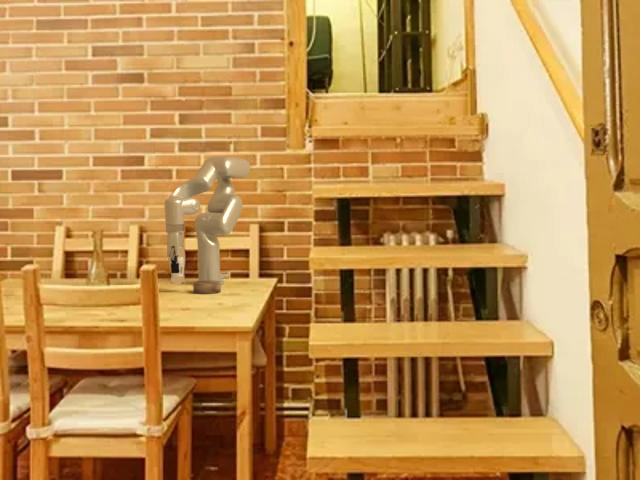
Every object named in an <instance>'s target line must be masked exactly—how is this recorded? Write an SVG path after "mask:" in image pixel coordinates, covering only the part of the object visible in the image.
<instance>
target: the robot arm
mask: <svg viewBox="0 0 640 480" xmlns="http://www.w3.org/2000/svg"><path fill="white" fill-rule="evenodd" d="M250 172H251V165H250V163H249V161H248V160H246V159H245V158H240V157H239V158H238V157H231V156H212V157H211V156H210V157H208V158H207V159H206V160H205V161H204V163H203V164H202V165H201V166H200V168H199V169H198V171H197V172H196V173H195V174H194V176H193V177H192V178H189V179H188V180H187V181H185V182H183V183H182V184H180V185H179V186H177V187H176V188H175V189H174V190H173V191H172V193H171V194H170V196H169V197H168V198H166V199H165V200H164V219H165V233H166V234H167V235H166V237H167V238H166V240H167V241H166V254H167V258H168V257H171V270H170V274H171V273H179V263H178V257H179V256H180V247H183V246H184V234H183V233H185V232H186V229H185V228H186V227H185V215H186V216H189V215H190V216H191V215H195V214H197V213H198V212H199V211H200V208H201V203H200V200H198V198H197V197H195V196H198V195H201V194H203V193H207V192H208V191H210V190H211V188H212V187H213V185H214V183H215V182H216V183H217V184H216V185H217V186H216V187H215V189H214V191H213V193H212V194H211V197H210V199H209V201H208V203H207V205H206V206H207V207H206V208H207V211H208V212H202V213H201V212H200V213H199V214H198V215H197V216H196V217H195V219H194V228H195V234H196V240H197V241H196V242H197V243H196V244H197V273H198V274H197V275H198V280H196V281H195V282H197V281H207V280H213V281H220V286H222V285H224V284H225V281H224V280H223V279H228V278H229V276H230V275H229V273H222V272H221V260H220V259H221V255H220V254H221V253H220V250H221V249H220V241H219V239H218V237H217V235H218V236H223V235H224V236H225V235H229V234H230V233H232V231H233V230H234V228H235V227H236V224H237V222H238V220H239V218H240V216H241V214H242V212H243V206H244V205H243V200H242V198H241V197H240V196H239V195H237V194H235V193H236V190H235V185H234V184H233V182H232V180H231V179H243V178H244V179H245V178H247V177H248V176H249V175H250ZM184 247H185V246H184ZM175 252H176V253H177V256H174V254H175Z"/></svg>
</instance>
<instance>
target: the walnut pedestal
mask: <svg viewBox="0 0 640 480" xmlns="http://www.w3.org/2000/svg"><path fill="white" fill-rule="evenodd" d="M196 281H197V282H196ZM196 281H193V285H192V287H193V294H195V295H213V294H219V293H221V285H220V281H213V280H207V281H198V280H196Z"/></svg>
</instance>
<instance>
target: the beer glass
mask: <svg viewBox="0 0 640 480" xmlns="http://www.w3.org/2000/svg"><path fill="white" fill-rule="evenodd" d="M185 251H186V250H185V246H183V247H180V256H179V257H178V263H179V273H171V272H170V275H171V276H170V284H175V285H178V284H179V285H180V284H184V283H186V277H185V266H186V252H185ZM174 256H177V253H176V252H175V254H174ZM167 259H168V260H167V262H168V265H169V269H170V271H171V257H168V256H167Z"/></svg>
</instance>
